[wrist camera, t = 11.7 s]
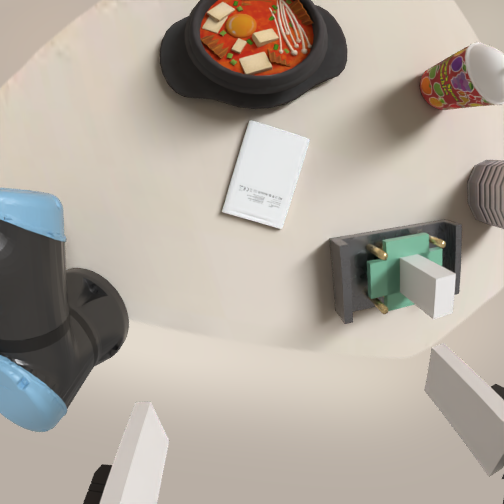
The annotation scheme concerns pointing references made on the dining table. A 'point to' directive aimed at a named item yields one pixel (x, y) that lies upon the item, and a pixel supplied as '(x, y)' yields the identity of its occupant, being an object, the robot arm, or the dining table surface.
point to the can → (487, 192)
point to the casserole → (252, 51)
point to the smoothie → (466, 79)
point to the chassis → (371, 248)
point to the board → (391, 268)
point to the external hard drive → (265, 174)
